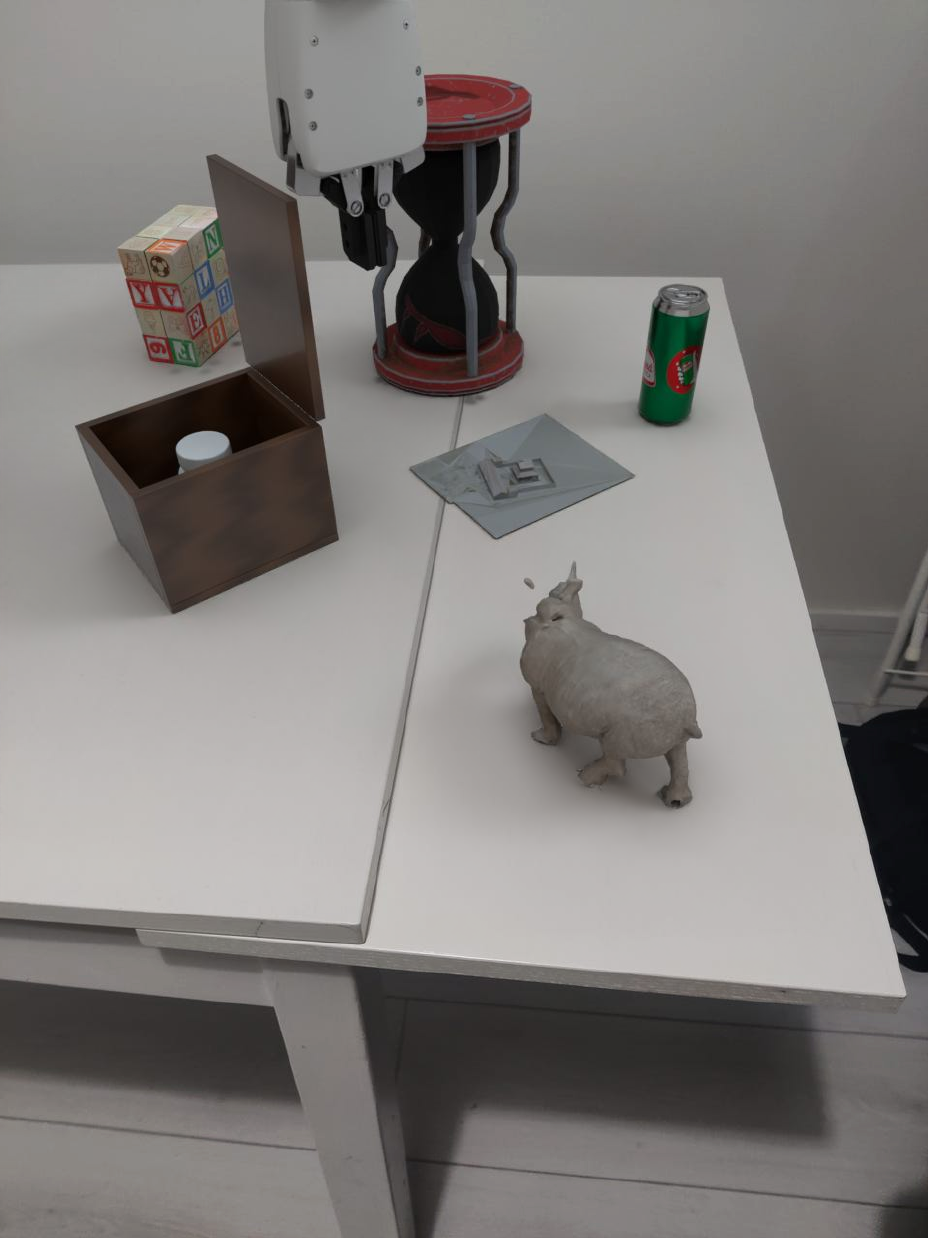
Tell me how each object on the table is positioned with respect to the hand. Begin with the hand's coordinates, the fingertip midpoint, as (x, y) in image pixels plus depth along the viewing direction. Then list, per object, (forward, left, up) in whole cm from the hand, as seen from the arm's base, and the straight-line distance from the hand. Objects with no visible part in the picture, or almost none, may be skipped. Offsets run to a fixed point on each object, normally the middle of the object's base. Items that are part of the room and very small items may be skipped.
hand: (367, 262), depth 66 cm
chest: (-16, 0, -19) cm, 25 cm away
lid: (-9, 0, 0) cm, 9 cm away
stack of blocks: (+1, +38, -19) cm, 42 cm away
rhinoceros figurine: (-5, -32, -19) cm, 38 cm away
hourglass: (+17, +14, -19) cm, 29 cm away
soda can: (+27, -8, -19) cm, 34 cm away
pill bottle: (-16, 0, -18) cm, 24 cm away
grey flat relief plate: (+5, -9, -19) cm, 22 cm away
